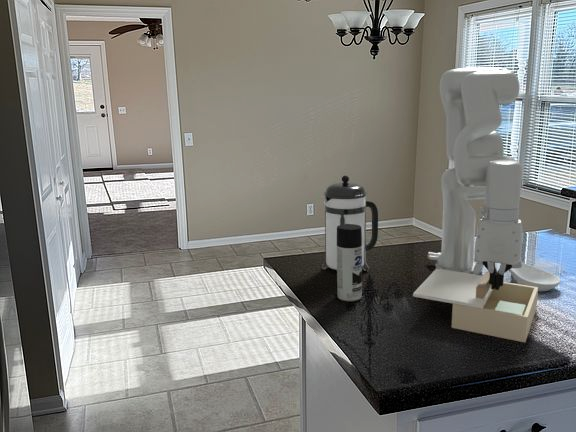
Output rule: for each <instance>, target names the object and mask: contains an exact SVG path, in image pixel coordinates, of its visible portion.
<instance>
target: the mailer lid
mask: <svg viewBox="0 0 576 432" xmlns="http://www.w3.org/2000/svg"><path fill="white" fill-rule="evenodd" d="M489 277H490V273H489V272H488V271H486V272H485V274H484V275H481V274H477V275H475V274H469V273H462V272H455V271H449V270H442V269H436V268H435V269H434V270H433V271H432V273H431V274H430V275H429V276H428V277H427V278H426V279H425V280H424V281H423V282H422V283H421V284H420V285H419V286H418V287H417V289H416V290H414V292H413V294H412V297H415V298H421V299H425V300H430V301H437V302H442V303H449V304H452V305H453V304H458V305H464V306H470V307H475V308H481V309H482V308H483V306H484V305H485V303H486V301H487V299H488V298H489V296H490V294H491V292H492V291H493V289H491V284H489Z"/></svg>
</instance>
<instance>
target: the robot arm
mask: <svg viewBox="0 0 576 432" xmlns="http://www.w3.org/2000/svg"><path fill="white" fill-rule="evenodd" d="M519 94H520V82H519V78H518V76H517V75H516V73H515V72H514V71H512V70H510V69H507V68H502V67H463V68H454V69H453V68H452V69H449V70H446V71H445V72H444V73H443V74H442V75H441V77H440V82H439V95H440V99H441V103H442V106H443V109H444V114H445V118H446V119H445V120H446V123H445V125H446V127H445V129H446V133H445V134H446V135H445V137H446V139H445V143H446V144H445V145H446V146H445V147H446V156H447V159H448V160H449V161H450V162H452V163H454V164H453V165H454V167H451V168H449V169H446V170H445V171H444V172H443V173H442V175H441V179H440V184H441V193H442V228H441V231H442V233H441V248H440V249H441V252H437V253H436V252H433V251H428V253H427V258H428V259H429V260H430V261H436V263H435V269H442V270H449V271H455V272H462V273H469V274H473V269H474V266H475V264H476V263H480V264H483V267H485V268H486V269H487V272H489V273H490V277H489V284H491V289H493V290H494V289H496V290H499V288H500V286H503V282H505V281H504V279H505V278H504V276H505V273H507V272H508V271H509V270H510V269H511V268H521V267H522V262H523V261H522V256H523V242H524V241H523V236H524V235H523V225H522V220H521V219H519V218H520V216H519V215H520V202H521V191H522V180H523V179H522V177H523V166H522V163H520V162H519V161H518V160H516V159H515V158H514V157H512V156H510V155H504V153H505V152H504V140H503V138H502V135H501V134H500V133H499V132H498V131H496V130H498V129H499V128H500V127H501V126H502V121H503V117H502V113H501V108H500V104H512V103H514V102H516V100H517V98H518V97H519ZM469 200H484V205H483V206H481V207H480V206H478V207H477V213H480V214H482V216H481V217H480V218H479V220H478V224H477V230H476V221H477V220H476V219H477V217H476V211H475V210H474V208H473V206H472V205H471V204H470V203H469V202H468V201H469ZM496 264H500V266H499V269H498V270H497V268H496Z"/></svg>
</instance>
